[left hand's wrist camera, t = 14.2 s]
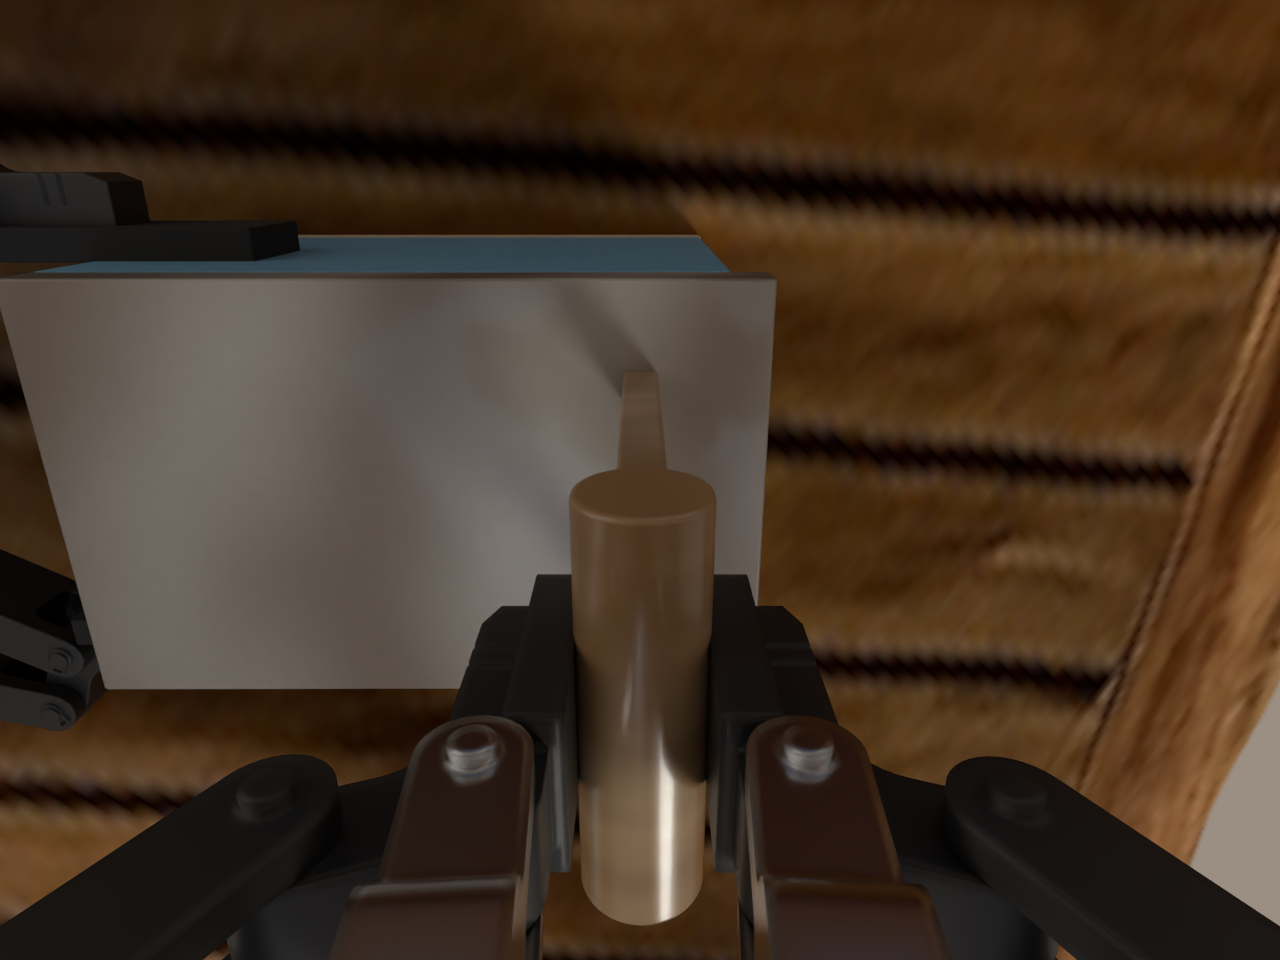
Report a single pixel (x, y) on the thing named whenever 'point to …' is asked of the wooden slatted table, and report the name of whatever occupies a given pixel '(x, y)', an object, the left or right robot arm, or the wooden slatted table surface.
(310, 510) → the lid
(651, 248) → the chest
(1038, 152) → the wooden slatted table surface
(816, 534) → the wooden slatted table surface
